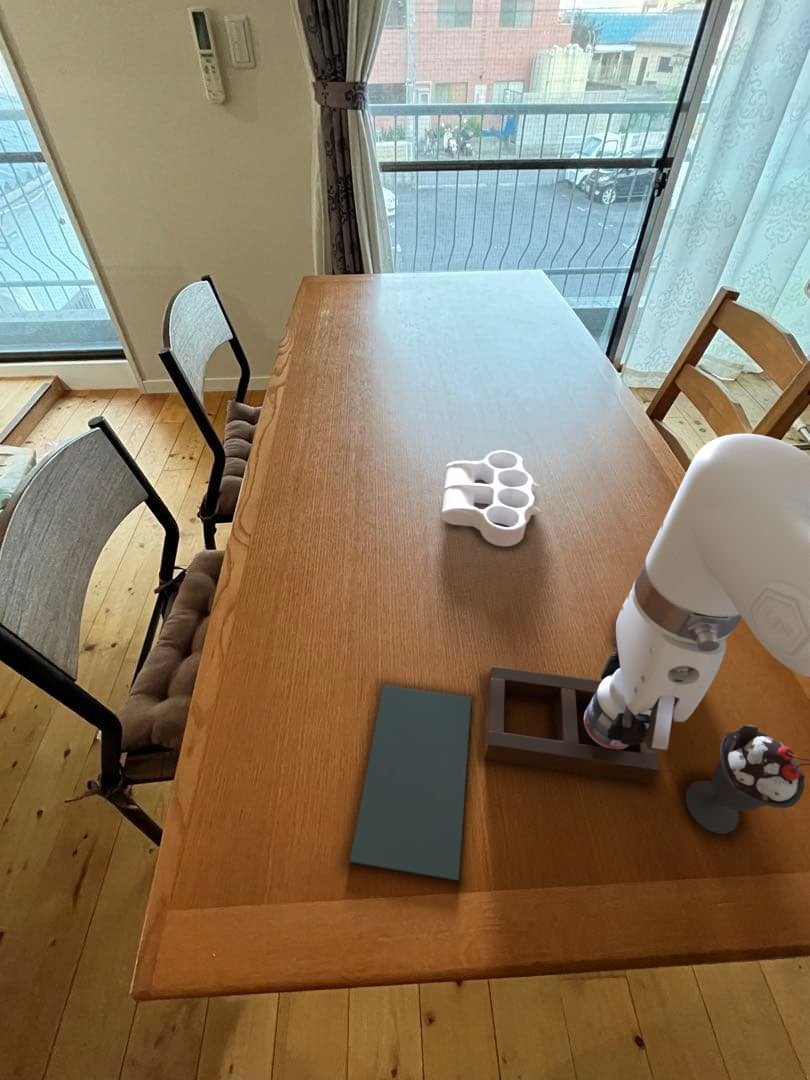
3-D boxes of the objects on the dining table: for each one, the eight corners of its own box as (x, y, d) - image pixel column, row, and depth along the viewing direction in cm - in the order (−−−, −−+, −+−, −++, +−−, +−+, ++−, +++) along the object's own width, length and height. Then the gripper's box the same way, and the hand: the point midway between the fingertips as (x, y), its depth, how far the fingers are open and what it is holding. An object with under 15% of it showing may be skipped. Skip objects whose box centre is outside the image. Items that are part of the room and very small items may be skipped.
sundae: (751, 854, 52) (847, 798, 41) (676, 828, 53) (749, 768, 42) (746, 785, 56) (831, 718, 45) (676, 763, 58) (743, 693, 47)
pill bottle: (594, 693, 60) (618, 648, 53) (642, 719, 58) (672, 677, 51) (574, 731, 57) (597, 690, 50) (624, 761, 55) (654, 721, 48)
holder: (646, 783, 56) (658, 770, 54) (484, 758, 58) (488, 744, 55) (634, 702, 62) (644, 686, 60) (487, 681, 64) (491, 665, 61)
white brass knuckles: (447, 462, 91) (537, 470, 90) (439, 540, 79) (542, 550, 78) (449, 445, 89) (541, 453, 88) (440, 523, 76) (547, 534, 75)
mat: (458, 881, 50) (458, 880, 50) (349, 862, 51) (349, 861, 50) (471, 699, 62) (471, 697, 62) (383, 686, 63) (383, 684, 63)
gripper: (779, 703, 35) (676, 805, 48) (714, 519, 47) (645, 641, 60) (657, 686, 36) (588, 792, 49) (623, 509, 48) (574, 632, 61)
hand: (620, 707), depth 54 cm, fingers closed on pill bottle, 5 cm apart
